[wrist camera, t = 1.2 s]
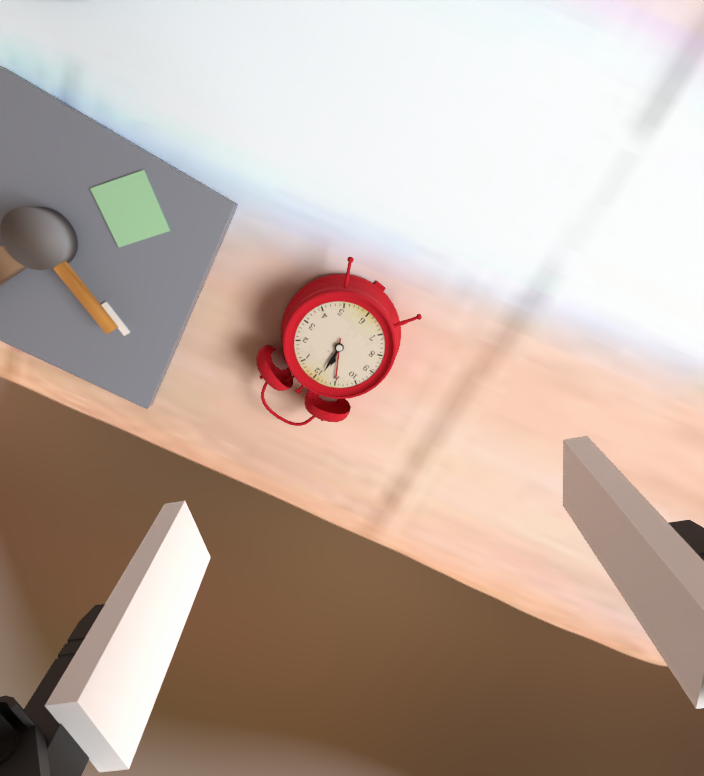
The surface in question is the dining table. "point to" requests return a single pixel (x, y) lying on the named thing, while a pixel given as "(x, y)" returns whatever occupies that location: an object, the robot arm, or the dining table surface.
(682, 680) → the robot arm
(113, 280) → the tuner board
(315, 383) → the alarm clock
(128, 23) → the dining table surface
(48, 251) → the peg lever
